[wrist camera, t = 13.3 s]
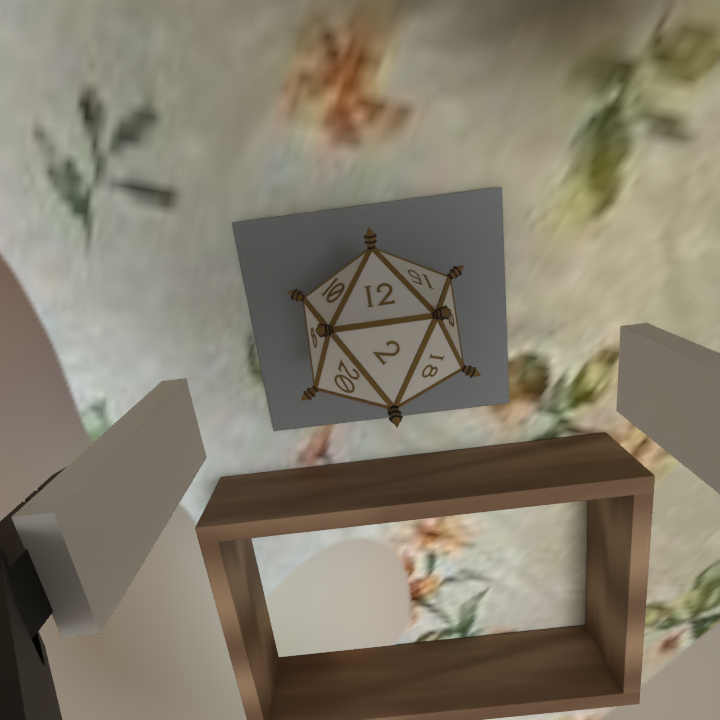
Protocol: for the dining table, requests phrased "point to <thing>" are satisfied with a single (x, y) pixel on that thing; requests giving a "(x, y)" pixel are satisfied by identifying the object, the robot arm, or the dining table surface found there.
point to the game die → (382, 330)
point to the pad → (340, 246)
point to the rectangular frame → (454, 656)
